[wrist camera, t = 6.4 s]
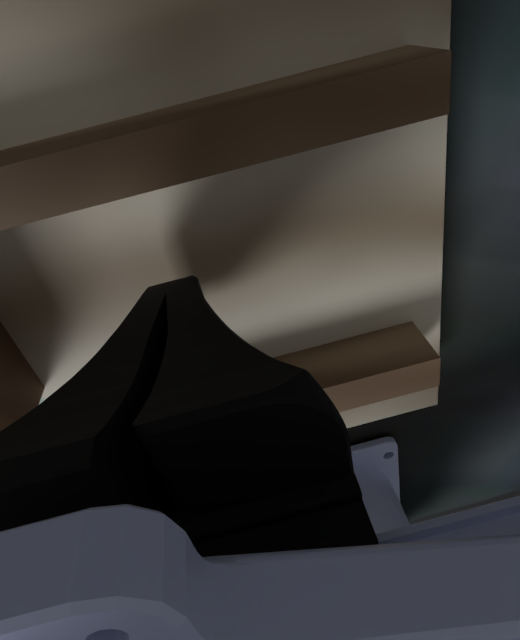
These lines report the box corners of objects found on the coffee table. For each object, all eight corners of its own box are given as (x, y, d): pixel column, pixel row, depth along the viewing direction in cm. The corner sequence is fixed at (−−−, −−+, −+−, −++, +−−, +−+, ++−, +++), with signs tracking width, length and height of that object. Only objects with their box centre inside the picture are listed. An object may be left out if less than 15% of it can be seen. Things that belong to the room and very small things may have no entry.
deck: (411, 365, 20) (464, 443, 16) (-163, 517, 20) (-239, 629, 16) (405, -132, 11) (522, -207, 7) (-675, 144, 10) (-1124, 212, 7)
